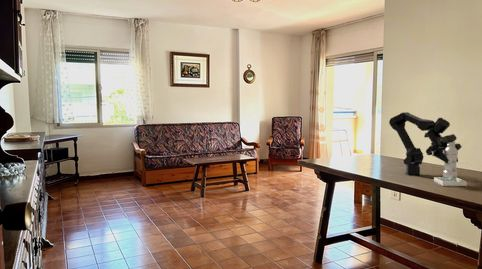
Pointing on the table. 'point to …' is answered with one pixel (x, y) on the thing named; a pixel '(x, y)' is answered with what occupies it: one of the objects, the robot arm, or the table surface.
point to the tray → (450, 182)
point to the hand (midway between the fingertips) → (452, 162)
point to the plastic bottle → (450, 161)
